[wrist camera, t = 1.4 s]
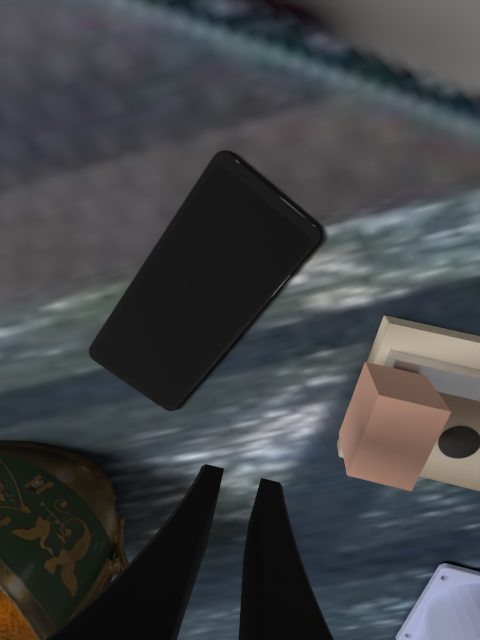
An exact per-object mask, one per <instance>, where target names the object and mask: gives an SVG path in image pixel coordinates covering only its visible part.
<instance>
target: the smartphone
mask: <svg viewBox="0 0 480 640" xmlns="http://www.w3.org/2000/svg"><path fill="white" fill-rule="evenodd" d="M322 238H323V230H322V228H321V226H320V225H319V224H318V223H317V222H316V221H314V220H313V219H312V218H311V217H310V216H308V215H307V214H306V213H305V212H304V211H303V210H301V209H300V208H299V207H298V206H297V205H295V204H294V203H293V202H292V201H291V200H289V199H288V198H287V197H286V196H285V195H283V194H282V193H281V192H280V191H278V190H277V189H276V188H275V187H274V186H272V185H271V184H270V183H269V182H268V181H266V180H265V179H264V178H263V177H262V176H260V175H259V174H258V173H257V172H256V171H254V170H253V169H252V168H251V167H250V166H248V165H247V164H246V163H245V162H244V161H242V160H241V159H240V158H239V157H237V156H236V155H235V154H234V153H232V152H230V151H227V150H224V151H220V152H218V153H216V154H215V156H214V157H213V158H212V160H211V161H210V163H209V164H208V166H207V167H206V169H205V170H204V172H203V173H202V175H201V177H200V178H199V180H198V181H197V183H196V184H195V186H194V187H193V189H192V190H191V192H190V193H189V195H188V196H187V198H186V200H185V201H184V203H183V204H182V206H181V207H180V209H179V210H178V212H177V213H176V215H175V216H174V218H173V219H172V221H171V223H170V224H169V226H168V227H167V229H166V230H165V232H164V233H163V235H162V236H161V238H160V239H159V241H158V243H157V244H156V246H155V247H154V249H153V250H152V252H151V253H150V255H149V256H148V258H147V259H146V261H145V263H144V264H143V266H142V267H141V269H140V270H139V272H138V273H137V275H136V276H135V278H134V279H133V281H132V282H131V284H130V286H129V287H128V289H127V290H126V292H125V293H124V295H123V296H122V298H121V299H120V301H119V302H118V304H117V306H116V307H115V309H114V310H113V312H112V313H111V315H110V316H109V318H108V319H107V321H106V322H105V324H104V326H103V327H102V329H101V330H100V332H99V333H98V335H97V336H96V338H95V340H94V341H93V343H92V344H91V346H90V348H89V354H90V356H91V358H92V359H93V360H94V361H96V362H97V363H99V364H100V365H102V366H103V367H104V368H106V369H107V370H109V371H110V372H112V373H113V374H115V375H116V376H117V377H119V378H120V379H122V380H123V381H125V382H126V383H128V384H129V385H130V386H132V387H133V388H135V389H136V390H138V391H139V392H141V393H142V394H143V395H145V396H146V397H148V398H149V399H151V400H152V401H154V402H155V403H157V404H158V405H159V406H161V407H162V408H164V409H166V410H168V411H174V410H176V409H178V408H179V407H180V406H181V405H182V403H183V402H184V401H185V400H186V399H187V398H188V396H189V395H190V394H191V393H192V392H193V391H194V390H195V388H196V387H197V386H198V385H199V384H200V383H201V381H202V380H203V379H204V378H205V377H206V376H207V374H208V373H209V372H210V371H211V370H212V369H213V367H214V366H215V365H216V364H217V363H218V362H219V361H220V359H221V358H222V357H223V356H224V355H225V354H226V352H227V351H228V350H229V349H230V348H231V347H232V345H233V344H234V343H235V342H236V341H237V340H238V338H239V337H240V336H241V335H242V334H243V333H244V331H245V330H246V329H247V328H248V327H249V326H250V324H251V323H252V322H253V321H254V320H255V319H256V317H257V316H258V315H259V314H260V313H261V312H262V310H263V309H264V308H265V307H266V306H267V305H268V303H269V302H270V301H271V300H272V299H273V298H274V297H275V295H276V294H277V293H278V292H279V291H280V290H281V288H282V287H283V286H284V285H285V284H286V283H287V281H288V280H289V279H290V278H291V277H292V276H293V274H294V273H295V272H296V271H297V270H298V269H299V267H300V266H301V265H302V264H303V263H304V262H305V260H306V259H307V258H308V257H309V256H310V255H311V253H312V252H313V251H314V250H315V249H316V247H317V246H318V245H319V244H320V243H321V241H322Z"/></svg>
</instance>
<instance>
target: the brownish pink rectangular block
mask: <svg viewBox="0 0 480 640" xmlns="http://www.w3.org/2000/svg"><path fill="white" fill-rule="evenodd" d="M450 414H451V411H450V409H449V408H448V406H447V405H446V403H445V402H444V401H443V399H442V398H441V396H440V395H439V394H438V392H437V391H436V389H435V388H434V386H433V385H432V384H431V382H430V381H429V379H428V378H427V376H426V375H421V374H417V373H412V372H408V371H404V370H399V369H395V368H390V367H386V366H382V365H377V364H373V363H369V362H365V364H364V366H363V369H362V372H361V375H360V377H359V380H358V383H357V386H356V388H355V391H354V394H353V396H352V399H351V402H350V405H349V407H348V410H347V413H346V416H345V418H344V421H343V424H342V427H341V429H340V432H339V436H340V441H341V446H342V452H343V457H344V462H345V467H346V473H347V475H348V476H352V477H356V478H360V479H364V480H368V481H372V482H376V483H380V484H384V485H388V486H392V487H396V488H400V489H404V490H409V491H412V490H413V488H414V486H415V484H416V482H417V480H418V478H419V476H420V474H421V472H422V470H423V468H424V466H425V464H426V462H427V460H428V458H429V456H430V454H431V452H432V450H433V448H434V446H435V444H436V442H437V440H438V438H439V436H440V434H441V432H442V430H443V428H444V426H445V424H446V422H447V420H448V418H449V416H450Z"/></svg>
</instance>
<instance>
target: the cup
mask: <svg viewBox="0 0 480 640" xmlns="http://www.w3.org/2000/svg"><path fill="white" fill-rule="evenodd" d="M115 500H116V493H115V489H114V487H113V484H112V483H111V481H110V479H109V478H108V476H107V475H106V473H105V472H104V471H103V470H102V469H101V468H100V467H99V466H98V465H96V464H95V463H94V462H92V461H91V460H89V459H87V458H85V457H83V456H81V455H79V454H77V453H74V452H72V451H69V450H66V449H63V448H59V447H55V446H50V445H46V444H40V443H34V442H25V441H0V640H46V639H47V638H48V637H49V636H51V635H52V634H53V633H54V632H56V631H57V630H58V629H59V628H61V627H62V626H63V625H64V624H65V623H66V622H67V621H69V620H70V619H71V618H72V617H73V616H74V615H76V614H77V613H78V612H79V611H80V610H81V609H82V608H84V607H85V606H86V605H87V604H88V603H89V602H91V601H92V600H93V599H94V598H95V597H96V596H97V595H98V594H99V593H100V592H101V591H102V590H104V589H105V588H106V587H107V586H108V585H109V584H110V582H111V580H112V579H113V578H115V577H117V576H118V575H119V574H120V573H121V572H122V571H123V570H124V569H125V568H126V567H127V566H128V565H129V563H128V560H127V557H126V553H125V547H124V531H123V526H124V525H125V517H123V516H118V515H117V513H116V509H115ZM114 553H115V558H113V557H114Z"/></svg>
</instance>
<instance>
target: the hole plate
mask: <svg viewBox="0 0 480 640" xmlns="http://www.w3.org/2000/svg"><path fill="white" fill-rule="evenodd" d="M390 349H391V350H395V351H400V352H404V353H409V354H413V355H418V356H422V357H427V358H431V359H435V360H440V361H444V362H449V363H453V364H458V365H462V366H467V367H471V368H475V369H480V336H476V335H472V334H467V333H463V332H458V331H454V330H449V329H444V328H440V327H435V326H431V325H426V324H422V323H417V322H413V321H408V320H403V319H399V318H394V317H390V316H385V315H384V317H383V319H382V322H381V325H380V327H379V330H378V333H377V336H376V338H375V341H374V344H373V347H372V349H371V352H370V355H369V357H368V360H367V362H369V363H373V364H377V365H382V366H384V363H385V361H386V358H387V356H388V353H389V351H390ZM437 392H438V391H437ZM438 394H439V395H440V396H441V398H442V399H443V401H444V402H445V403H446V405H447V406H448V408H449V409H450V411H451V414H450V416H449V418H448V420H447V422H446V424H445V426H444V428H443V430H442V432H441V434H440V436H439V438H438V440H437V442H436V444H435V446H434V448H433V450H432V452H431V454H430V456H429V458H428V460H427V462H426V464H425V466H424V468H423V470H422V472H421V474H420V477H424V478H428V479H432V480H436V481H440V482H444V483H448V484H453V485H457V486H461V487H465V488H469V489H473V490H477V491H480V401H477V400H472V399H468V398H464V397H459V396H455V395H451V394H446V393H442V392H438ZM337 447H338V453H339V457H342V458H344V457H343V452H342V446H341V441H340V436H339V439H338V442H337Z"/></svg>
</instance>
